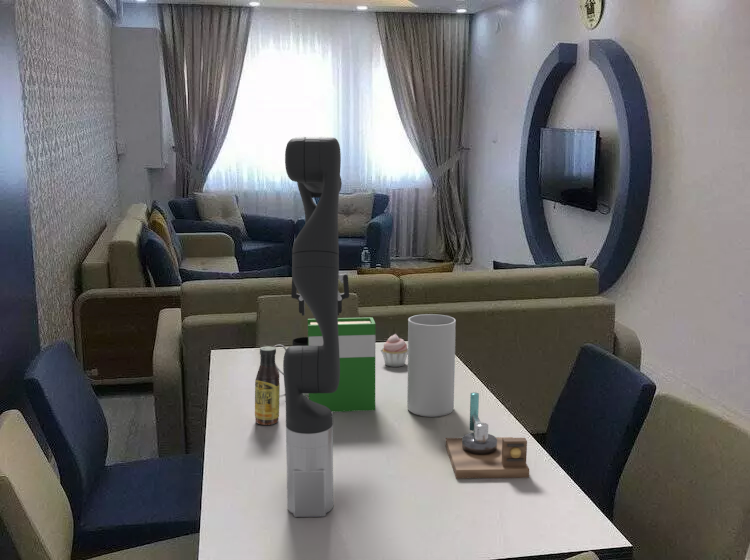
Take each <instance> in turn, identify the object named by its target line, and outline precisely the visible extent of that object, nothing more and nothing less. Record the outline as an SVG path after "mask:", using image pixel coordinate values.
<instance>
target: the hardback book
mask: <svg viewBox="0 0 750 560" xmlns="http://www.w3.org/2000/svg"><path fill="white" fill-rule="evenodd" d="M376 324H377V323H376V322H375V320H374V318H373V316H372V317H370V316H369V317H338V337H339V357H340V380H339V386H338V388H337V390H336V391H335V392H333V393H309V395H308V399H309V400H311V401H313V402H316V403H318V404H321V405H324V406H326V407H327V408H329V409H330V410H331V412H332V413H337V412H338V413H339V412H340V413H341V412H342V413H344V412H363V411H364V412H366V411H367V412H368V411H372V412H373V411H376V335H377V334H376V326H377V325H376ZM307 337H308V346H322V345H323V337H322V333H321V330H320V328H319V326H318V323H317V321H316V319H315V318H307Z"/></svg>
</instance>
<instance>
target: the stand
mask: <svg viewBox="0 0 750 560" xmlns="http://www.w3.org/2000/svg"><path fill="white" fill-rule="evenodd" d="M495 437H496V436H495ZM496 438H497V450H496V451H495V452H493V453H489V454H474V453H470V452H467V451H465V450H464V449H463V448H462V437H445V448H446V452H447V455H448V457H449V460H450V461H449V462H450V465H451V468H452V470H453V474H454V477H455V479H456V480H457V479H512V478H513V479H514V478H515V479H523V478H525V479H527V478H530V467H529V466H528V464H527V453H528V451H527V450H528V440H527V439H526V437H511V436H508V437H507V436H506V437H505V436H504V437H501V436H499V437H496Z"/></svg>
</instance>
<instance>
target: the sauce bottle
mask: <svg viewBox="0 0 750 560" xmlns="http://www.w3.org/2000/svg"><path fill="white" fill-rule="evenodd" d="M276 354H277V349H276V347H274V346H269V345H267V346H261V347H260V348H259V355H260V360H259V361H260V362H259V367H258V371H257V373H256V376H255V379H254V380H255V381H254V382H255V384H254V386H255V387H254V390H255V391H254V417H255V422H256V423H257V424H259V425H262V426H272V425H275V424H277V423H278V422H279V418H280V396H281V395H280V391H281V389H280V386H281V385H280V372H279V371H278V370H277V368H276V366H275V363H276Z"/></svg>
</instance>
